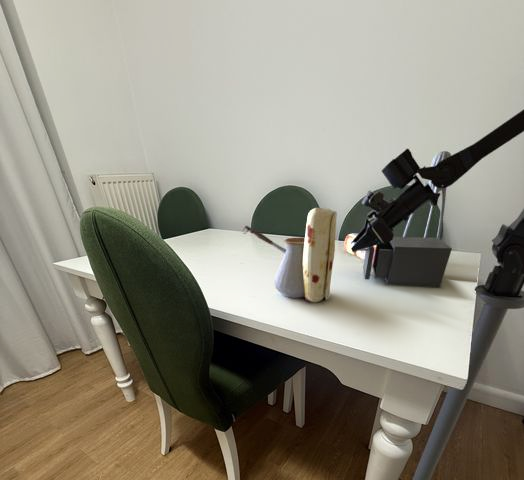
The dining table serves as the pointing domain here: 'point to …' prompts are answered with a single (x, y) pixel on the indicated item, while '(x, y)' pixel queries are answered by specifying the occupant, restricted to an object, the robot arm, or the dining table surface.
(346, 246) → the snack package
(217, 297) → the dining table surface
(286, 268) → the coffee pot
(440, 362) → the dining table surface
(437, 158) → the citrus juicer
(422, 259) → the dark grey box
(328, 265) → the food model
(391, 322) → the dining table surface
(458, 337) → the dining table surface
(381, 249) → the grey drawer
